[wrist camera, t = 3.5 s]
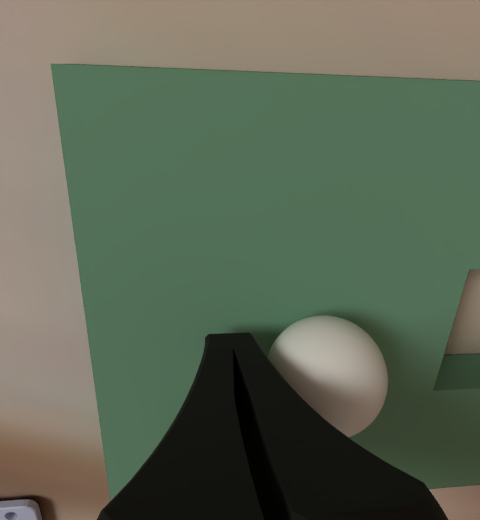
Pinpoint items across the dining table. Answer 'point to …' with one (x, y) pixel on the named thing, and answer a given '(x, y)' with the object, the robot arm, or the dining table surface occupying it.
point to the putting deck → (274, 239)
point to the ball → (333, 370)
